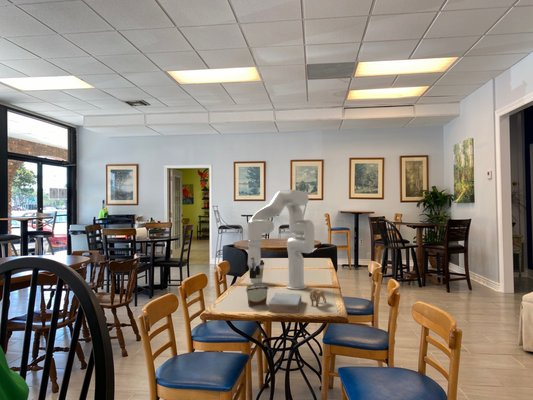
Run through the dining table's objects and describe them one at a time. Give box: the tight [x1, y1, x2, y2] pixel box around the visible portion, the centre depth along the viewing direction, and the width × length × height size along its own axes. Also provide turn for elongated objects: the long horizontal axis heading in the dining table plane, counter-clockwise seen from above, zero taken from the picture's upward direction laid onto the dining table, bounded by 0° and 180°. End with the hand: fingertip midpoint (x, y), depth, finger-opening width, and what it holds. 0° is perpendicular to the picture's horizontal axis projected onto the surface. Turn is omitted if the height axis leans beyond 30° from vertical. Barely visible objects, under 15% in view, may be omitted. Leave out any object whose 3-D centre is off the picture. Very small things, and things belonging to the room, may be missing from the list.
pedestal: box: [268, 292, 302, 314], centre depth 177 cm, size 20×14×4 cm
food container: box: [245, 283, 270, 308], centre depth 181 cm, size 12×6×10 cm, turn 111°
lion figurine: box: [309, 289, 327, 308], centre depth 179 cm, size 15×5×9 cm, turn 150°
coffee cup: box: [248, 259, 265, 285], centre depth 232 cm, size 11×11×15 cm
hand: (254, 276), depth 181 cm, fingers open, 9 cm apart
